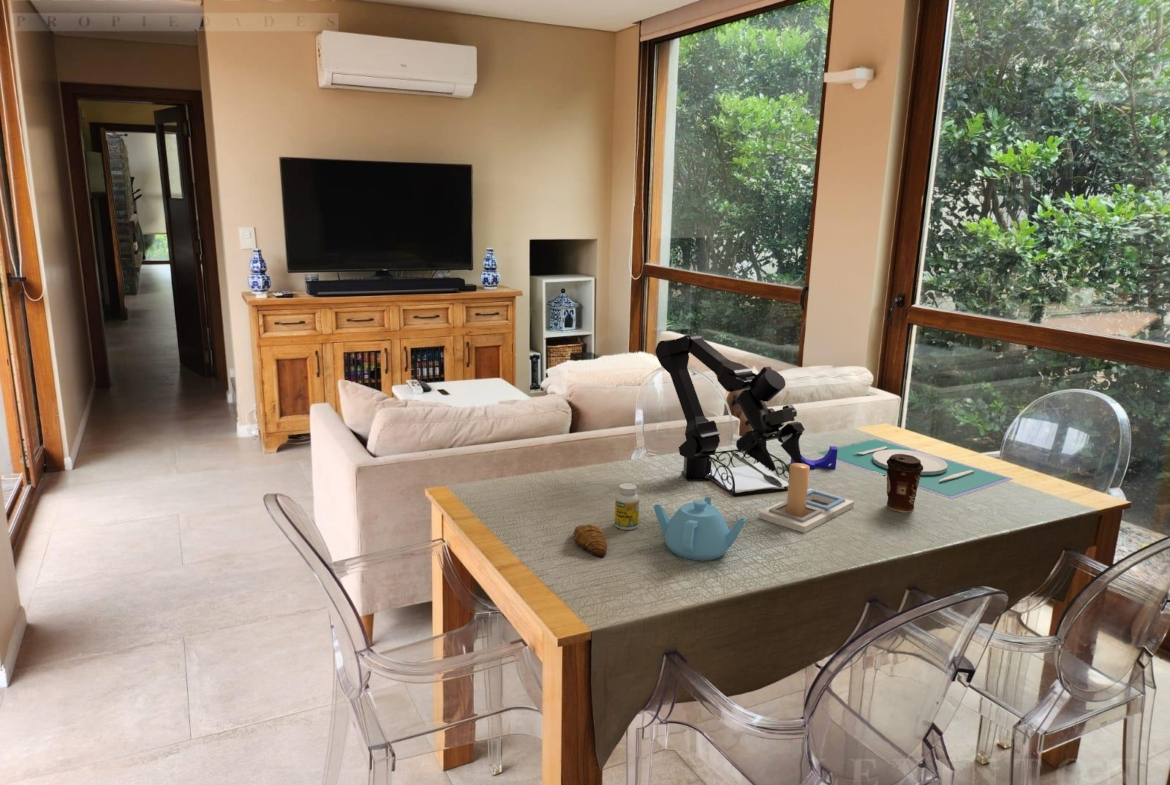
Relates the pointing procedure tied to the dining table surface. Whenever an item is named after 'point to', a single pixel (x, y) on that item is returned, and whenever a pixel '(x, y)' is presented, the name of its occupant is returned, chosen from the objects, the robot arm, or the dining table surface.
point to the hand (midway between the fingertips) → (787, 467)
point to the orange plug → (797, 489)
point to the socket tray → (808, 511)
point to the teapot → (697, 530)
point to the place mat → (936, 470)
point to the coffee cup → (902, 482)
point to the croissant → (591, 539)
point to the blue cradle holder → (822, 460)
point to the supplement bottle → (627, 507)
